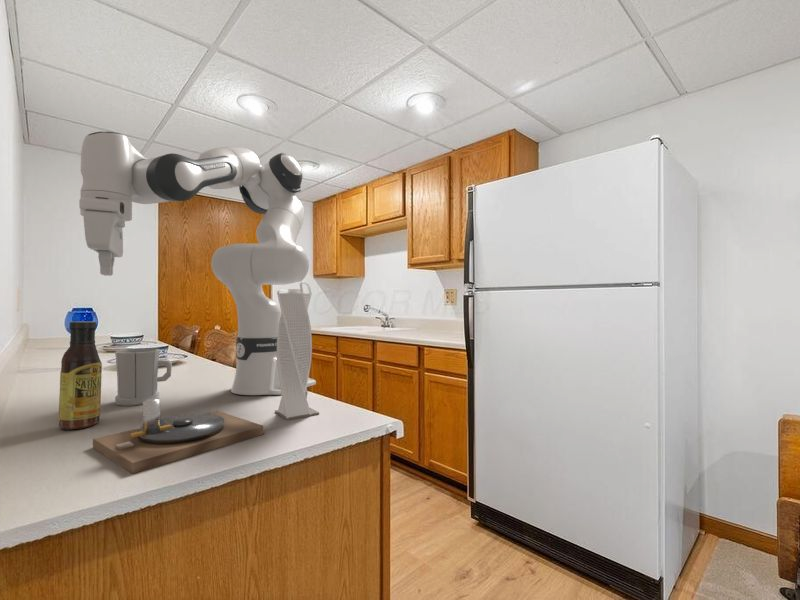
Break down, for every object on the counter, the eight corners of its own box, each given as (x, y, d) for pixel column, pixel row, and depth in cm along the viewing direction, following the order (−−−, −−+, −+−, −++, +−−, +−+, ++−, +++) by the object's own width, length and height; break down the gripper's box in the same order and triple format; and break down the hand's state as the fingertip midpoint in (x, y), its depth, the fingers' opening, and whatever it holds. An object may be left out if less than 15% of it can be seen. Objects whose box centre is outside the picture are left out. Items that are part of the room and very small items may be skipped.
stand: (216, 418, 83) (217, 409, 83) (263, 434, 73) (263, 424, 73) (92, 447, 66) (92, 436, 66) (132, 473, 57) (132, 460, 57)
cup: (152, 393, 104) (152, 346, 104) (174, 398, 99) (175, 349, 99) (106, 403, 94) (106, 351, 94) (129, 408, 90) (129, 354, 90)
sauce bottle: (77, 432, 74) (77, 322, 74) (49, 430, 75) (49, 322, 75) (109, 421, 80) (110, 320, 80) (83, 419, 82) (83, 320, 81)
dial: (199, 414, 79) (200, 382, 79) (239, 427, 71) (239, 392, 71) (114, 434, 67) (115, 397, 67) (151, 452, 60) (151, 410, 60)
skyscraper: (322, 416, 85) (322, 281, 85) (284, 422, 80) (285, 280, 80) (305, 407, 92) (305, 282, 92) (269, 413, 87) (270, 281, 87)
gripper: (97, 216, 94) (97, 277, 94) (77, 197, 76) (76, 272, 76) (130, 219, 97) (130, 277, 97) (118, 201, 79) (117, 273, 79)
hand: (106, 275), depth 86 cm, fingers closed
